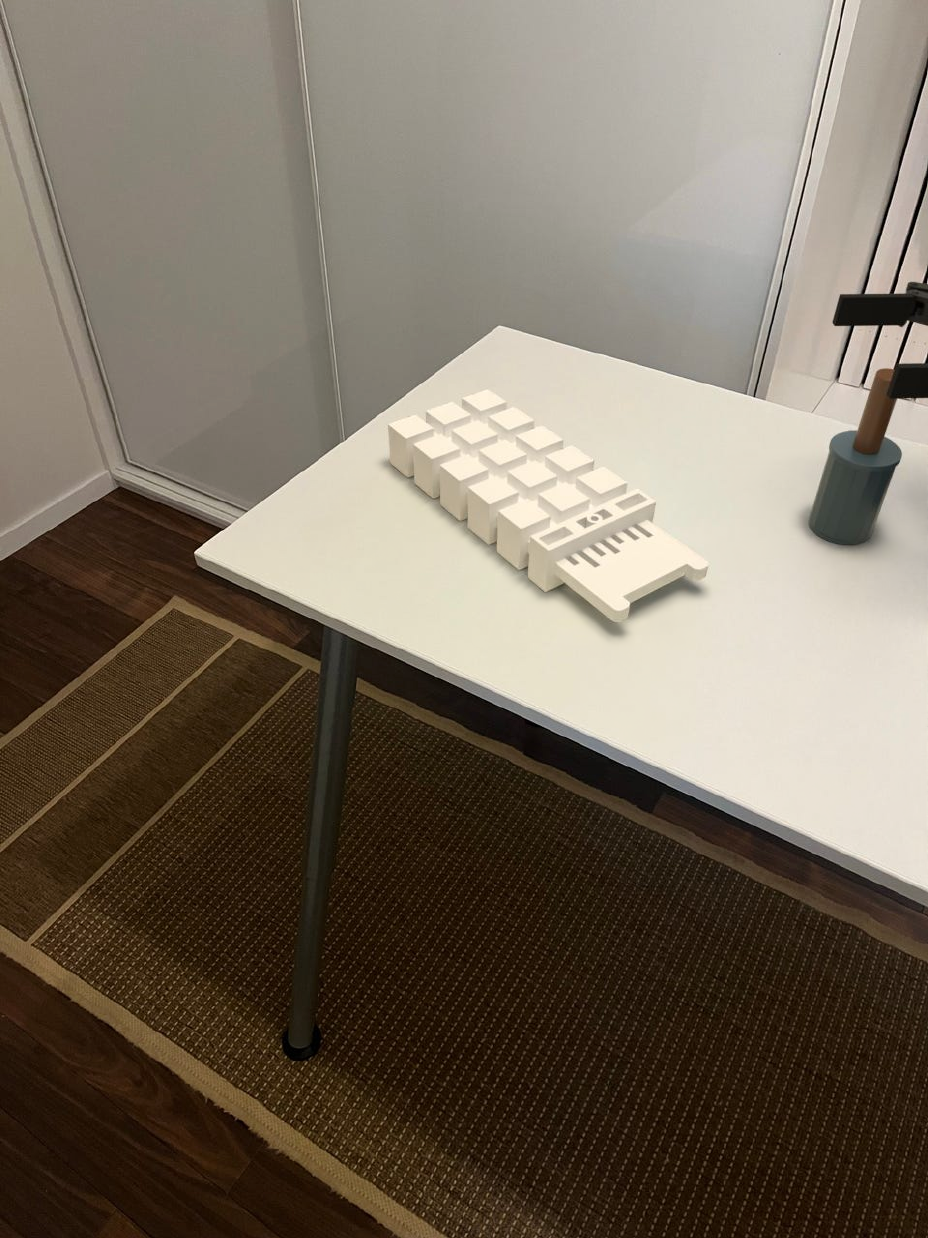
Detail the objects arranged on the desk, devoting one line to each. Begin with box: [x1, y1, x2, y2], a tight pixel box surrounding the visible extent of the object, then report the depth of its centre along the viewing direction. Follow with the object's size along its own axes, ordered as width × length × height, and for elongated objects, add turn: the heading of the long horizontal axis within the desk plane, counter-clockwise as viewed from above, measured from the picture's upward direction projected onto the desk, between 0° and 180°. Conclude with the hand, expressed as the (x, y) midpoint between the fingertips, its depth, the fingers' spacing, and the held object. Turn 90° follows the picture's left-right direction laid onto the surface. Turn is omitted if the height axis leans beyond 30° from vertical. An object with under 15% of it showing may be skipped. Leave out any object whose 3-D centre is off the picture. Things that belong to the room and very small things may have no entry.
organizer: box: [387, 389, 710, 623], centre depth 93 cm, size 13×5×35 cm
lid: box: [828, 367, 903, 472], centre depth 86 cm, size 6×6×9 cm
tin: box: [808, 450, 897, 546], centre depth 91 cm, size 6×6×8 cm
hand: (862, 343), depth 81 cm, fingers open, 13 cm apart
